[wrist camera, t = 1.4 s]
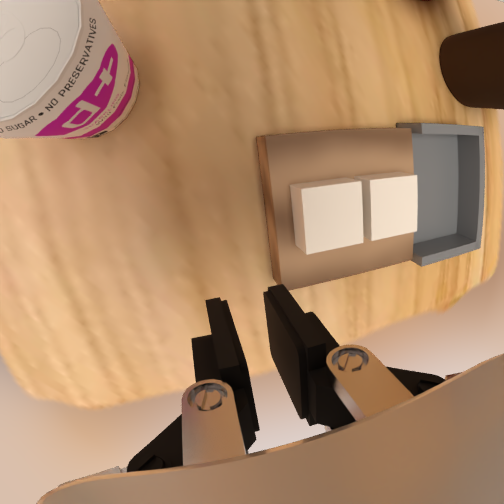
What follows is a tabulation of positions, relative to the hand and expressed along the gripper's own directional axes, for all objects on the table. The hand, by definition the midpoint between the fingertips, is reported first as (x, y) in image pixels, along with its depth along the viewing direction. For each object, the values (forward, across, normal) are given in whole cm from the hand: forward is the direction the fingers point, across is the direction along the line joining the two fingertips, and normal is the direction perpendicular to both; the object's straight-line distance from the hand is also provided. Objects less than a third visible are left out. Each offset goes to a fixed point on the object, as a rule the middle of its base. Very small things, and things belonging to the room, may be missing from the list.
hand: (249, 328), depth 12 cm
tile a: (+14, -9, 0) cm, 17 cm away
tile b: (+14, -15, 0) cm, 20 cm away
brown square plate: (+17, -12, 0) cm, 21 cm away
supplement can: (+17, +8, -13) cm, 23 cm away
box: (+17, -24, 0) cm, 30 cm away
